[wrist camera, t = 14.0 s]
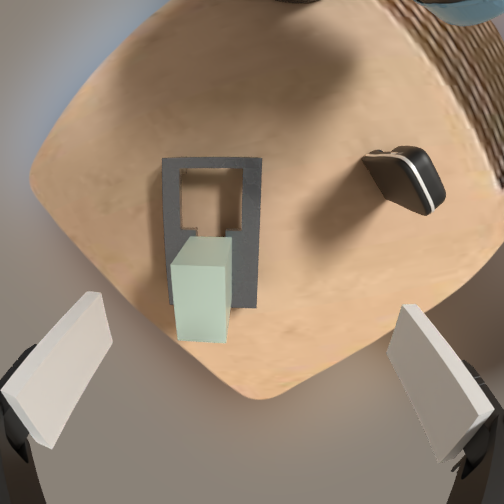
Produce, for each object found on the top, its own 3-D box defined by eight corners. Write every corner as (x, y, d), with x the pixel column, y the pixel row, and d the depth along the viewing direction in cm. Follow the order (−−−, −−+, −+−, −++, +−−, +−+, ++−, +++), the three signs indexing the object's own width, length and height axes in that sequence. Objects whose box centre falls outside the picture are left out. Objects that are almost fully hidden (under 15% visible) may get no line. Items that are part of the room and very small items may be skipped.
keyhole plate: (171, 157, 34) (162, 158, 30) (260, 157, 34) (262, 157, 31) (176, 291, 40) (169, 304, 36) (255, 294, 40) (256, 308, 36)
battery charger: (406, 185, 35) (456, 201, 24) (386, 201, 36) (432, 222, 25) (380, 141, 33) (427, 140, 22) (358, 157, 34) (401, 161, 23)
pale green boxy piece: (192, 228, 37) (166, 264, 25) (237, 229, 37) (230, 266, 25) (194, 286, 39) (173, 339, 28) (236, 287, 39) (230, 343, 28)
